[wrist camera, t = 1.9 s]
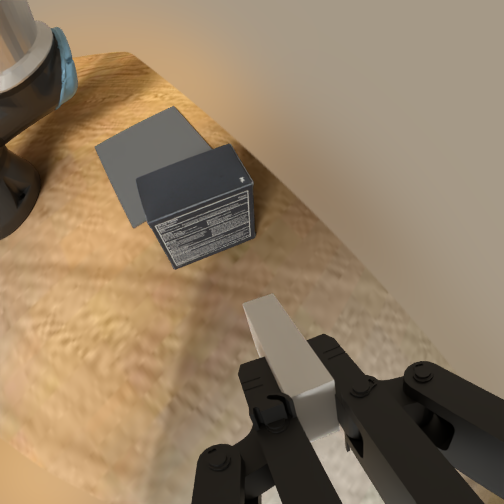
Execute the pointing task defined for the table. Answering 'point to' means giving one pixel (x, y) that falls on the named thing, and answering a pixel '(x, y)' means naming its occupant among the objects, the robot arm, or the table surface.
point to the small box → (199, 205)
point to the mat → (147, 155)
